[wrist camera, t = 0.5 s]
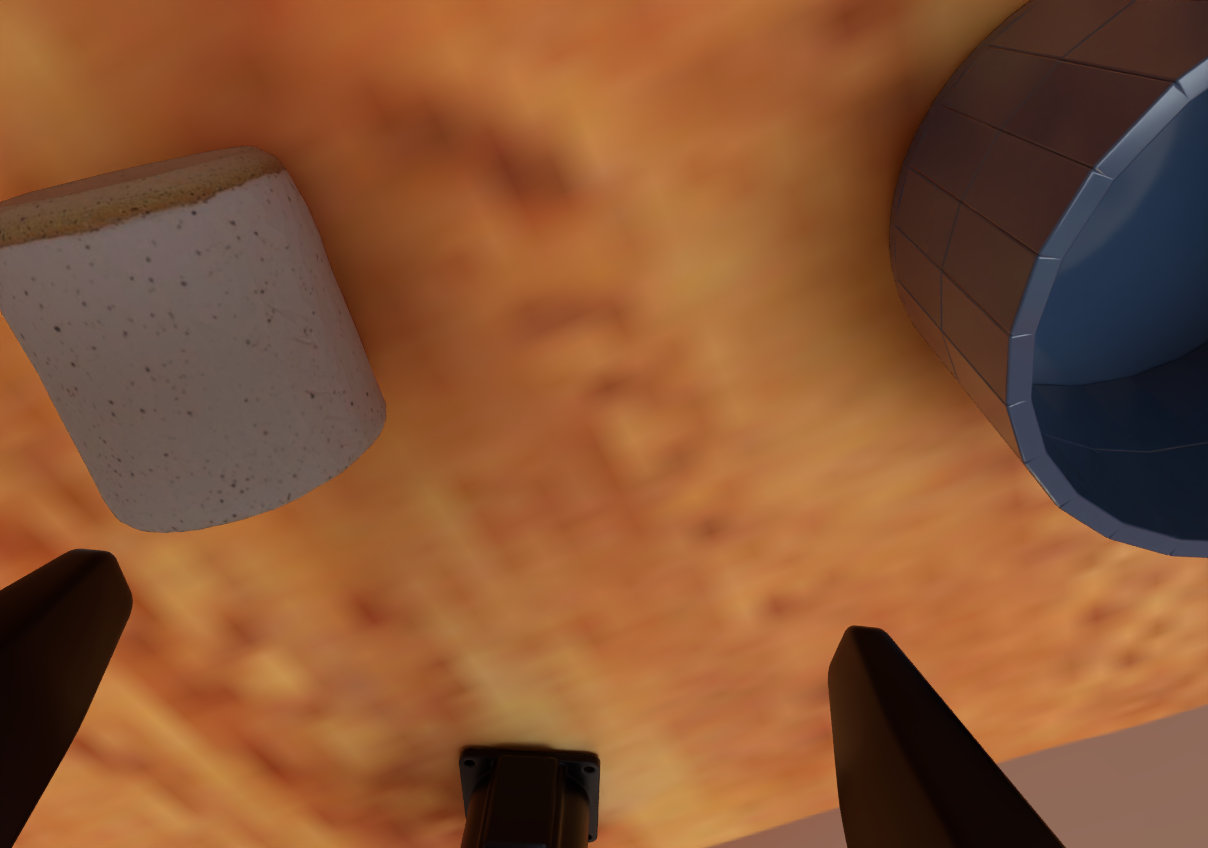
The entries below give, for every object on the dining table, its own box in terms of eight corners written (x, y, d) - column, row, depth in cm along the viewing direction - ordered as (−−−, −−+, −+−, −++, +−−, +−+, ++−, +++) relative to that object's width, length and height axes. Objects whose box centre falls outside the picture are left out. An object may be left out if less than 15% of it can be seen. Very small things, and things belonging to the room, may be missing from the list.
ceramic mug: (322, 113, 20) (160, 181, 13) (420, 377, 24) (333, 528, 17) (-10, 188, 22) (-301, 280, 15) (135, 423, 26) (-43, 576, 19)
